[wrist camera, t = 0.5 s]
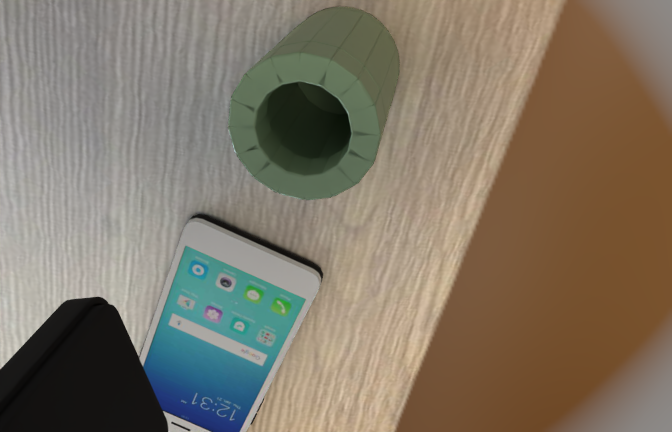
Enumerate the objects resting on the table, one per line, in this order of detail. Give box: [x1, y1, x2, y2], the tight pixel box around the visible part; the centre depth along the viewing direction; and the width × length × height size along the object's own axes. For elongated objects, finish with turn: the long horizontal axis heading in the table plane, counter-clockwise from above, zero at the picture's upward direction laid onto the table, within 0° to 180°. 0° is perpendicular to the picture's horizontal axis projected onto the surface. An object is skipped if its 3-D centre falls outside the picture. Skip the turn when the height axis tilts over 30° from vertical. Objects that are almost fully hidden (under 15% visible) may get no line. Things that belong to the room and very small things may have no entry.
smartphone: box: [139, 214, 323, 432], centre depth 34 cm, size 8×1×15 cm
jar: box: [228, 7, 400, 200], centre depth 23 cm, size 5×5×8 cm
